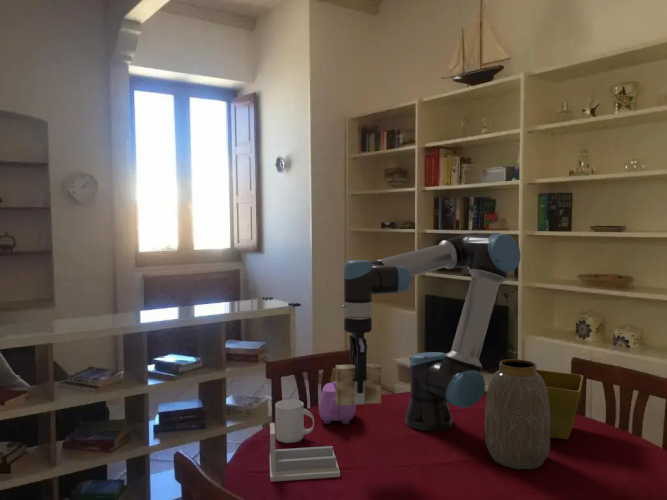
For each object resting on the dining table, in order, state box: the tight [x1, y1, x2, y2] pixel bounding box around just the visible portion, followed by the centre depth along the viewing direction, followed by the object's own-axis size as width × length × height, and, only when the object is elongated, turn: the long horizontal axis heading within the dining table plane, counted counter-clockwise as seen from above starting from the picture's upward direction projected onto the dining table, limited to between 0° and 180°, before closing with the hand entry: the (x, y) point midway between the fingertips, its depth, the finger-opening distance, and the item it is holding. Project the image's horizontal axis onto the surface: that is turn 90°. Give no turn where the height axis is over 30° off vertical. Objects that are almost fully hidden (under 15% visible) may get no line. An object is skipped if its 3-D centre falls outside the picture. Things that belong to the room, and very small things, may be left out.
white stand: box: [269, 422, 341, 483], centre depth 149 cm, size 18×14×11 cm
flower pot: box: [536, 369, 584, 440], centre depth 173 cm, size 19×19×17 cm
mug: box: [274, 398, 315, 444], centre depth 168 cm, size 9×12×11 cm
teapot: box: [318, 380, 357, 425], centre depth 184 cm, size 20×12×13 cm, turn 174°
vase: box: [484, 358, 551, 470], centre depth 152 cm, size 17×17×27 cm
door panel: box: [335, 362, 382, 405], centre depth 152 cm, size 12×4×10 cm, turn 98°
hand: (357, 400), depth 152 cm, fingers closed on door panel, 4 cm apart
